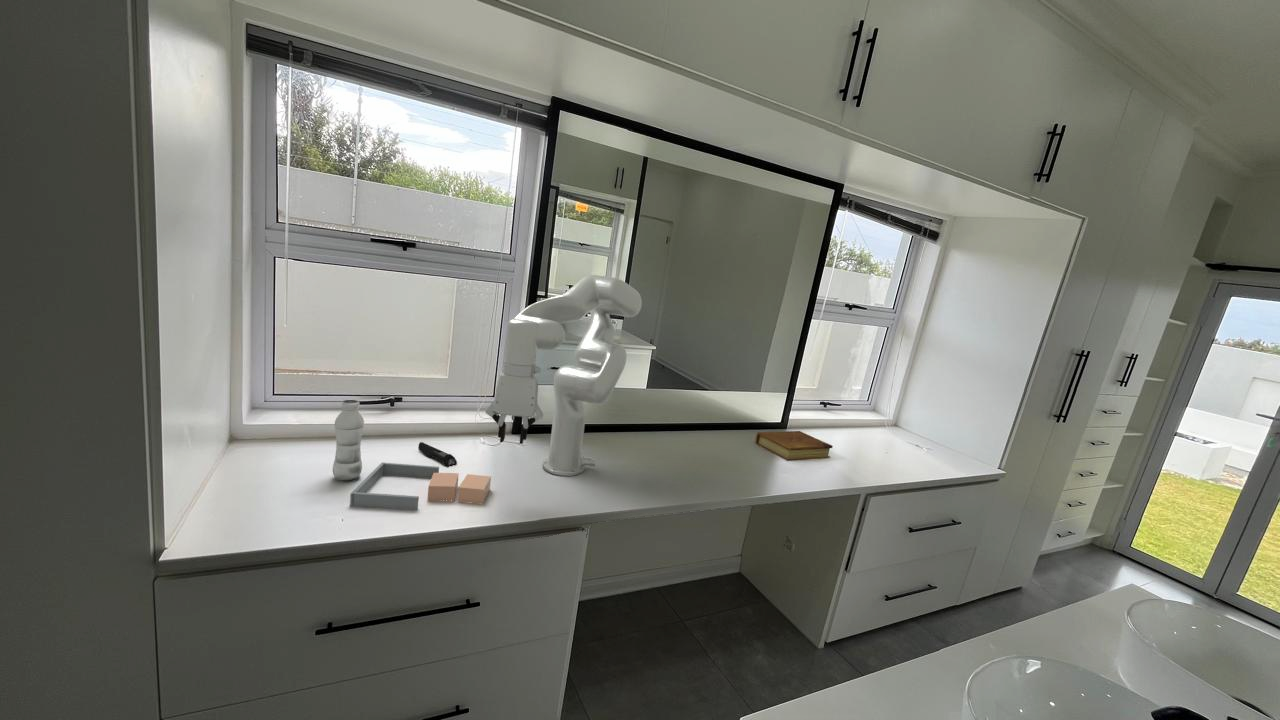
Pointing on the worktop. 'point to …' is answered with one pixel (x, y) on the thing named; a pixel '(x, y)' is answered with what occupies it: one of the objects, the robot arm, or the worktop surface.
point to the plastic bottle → (348, 441)
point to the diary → (793, 445)
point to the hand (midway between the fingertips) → (512, 440)
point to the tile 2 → (474, 488)
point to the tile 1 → (443, 487)
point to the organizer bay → (387, 500)
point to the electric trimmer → (437, 454)
